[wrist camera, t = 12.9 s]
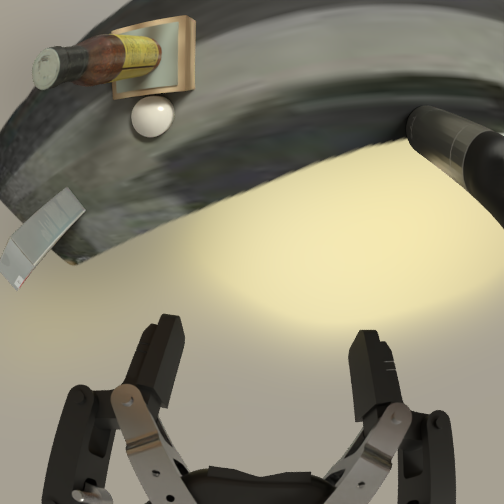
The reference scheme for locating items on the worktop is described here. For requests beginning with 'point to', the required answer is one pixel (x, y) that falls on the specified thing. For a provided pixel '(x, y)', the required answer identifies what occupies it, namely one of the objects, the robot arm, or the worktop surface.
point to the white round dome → (152, 115)
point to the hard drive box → (38, 236)
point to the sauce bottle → (96, 61)
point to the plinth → (163, 58)
